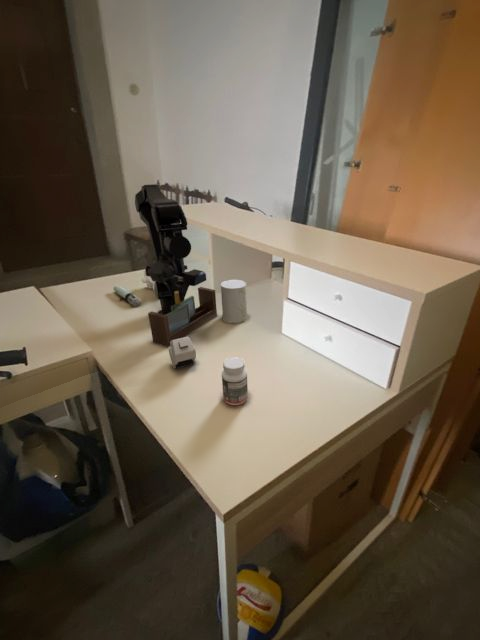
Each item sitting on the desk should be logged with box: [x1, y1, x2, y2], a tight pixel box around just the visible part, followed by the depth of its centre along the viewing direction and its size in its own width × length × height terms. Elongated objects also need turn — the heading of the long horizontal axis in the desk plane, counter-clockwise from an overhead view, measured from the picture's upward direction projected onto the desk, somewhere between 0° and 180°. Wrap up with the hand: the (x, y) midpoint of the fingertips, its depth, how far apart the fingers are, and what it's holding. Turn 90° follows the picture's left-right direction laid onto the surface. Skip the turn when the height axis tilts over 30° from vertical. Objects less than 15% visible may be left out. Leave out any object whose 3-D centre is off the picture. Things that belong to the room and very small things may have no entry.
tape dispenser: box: [168, 336, 197, 369], centre depth 92 cm, size 6×7×10 cm
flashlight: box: [112, 285, 141, 308], centre depth 132 cm, size 3×4×20 cm
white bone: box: [141, 269, 156, 291], centre depth 137 cm, size 15×9×8 cm, turn 37°
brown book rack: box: [147, 286, 218, 348], centre depth 110 cm, size 6×24×10 cm, turn 150°
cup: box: [220, 279, 248, 324], centre depth 116 cm, size 8×8×12 cm
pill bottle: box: [221, 356, 249, 406], centre depth 79 cm, size 6×6×10 cm
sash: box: [171, 291, 196, 317], centre depth 110 cm, size 2×10×10 cm, turn 150°
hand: (178, 300), depth 107 cm, fingers closed on sash, 2 cm apart
